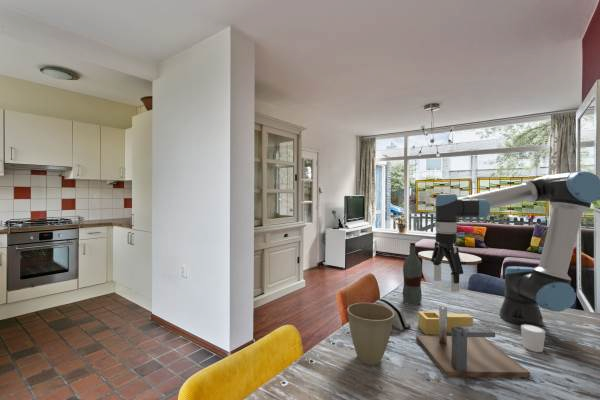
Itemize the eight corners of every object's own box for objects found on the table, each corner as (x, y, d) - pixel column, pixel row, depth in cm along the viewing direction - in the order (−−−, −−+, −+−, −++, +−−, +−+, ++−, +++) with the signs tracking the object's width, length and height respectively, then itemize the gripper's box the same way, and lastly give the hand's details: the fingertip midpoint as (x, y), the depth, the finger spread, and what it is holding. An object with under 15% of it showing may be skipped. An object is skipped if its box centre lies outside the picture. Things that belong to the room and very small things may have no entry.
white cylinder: (539, 354, 98) (539, 334, 98) (516, 345, 104) (516, 326, 104) (549, 350, 101) (549, 330, 101) (526, 341, 107) (526, 322, 107)
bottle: (399, 298, 151) (399, 241, 150) (415, 298, 152) (416, 241, 151) (407, 305, 141) (408, 244, 141) (425, 305, 142) (426, 244, 142)
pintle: (444, 345, 104) (445, 306, 104) (448, 348, 101) (448, 309, 101) (437, 345, 104) (438, 306, 104) (441, 348, 101) (441, 309, 101)
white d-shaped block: (411, 328, 117) (404, 306, 116) (402, 333, 115) (395, 311, 114) (387, 312, 133) (381, 293, 132) (378, 317, 131) (372, 297, 130)
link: (465, 326, 119) (465, 311, 119) (476, 334, 112) (476, 319, 112) (418, 325, 119) (418, 311, 119) (425, 334, 112) (426, 319, 112)
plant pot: (386, 378, 84) (386, 324, 84) (339, 362, 92) (340, 313, 92) (398, 355, 97) (398, 308, 97) (356, 342, 105) (356, 299, 105)
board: (483, 340, 108) (483, 336, 108) (529, 377, 86) (529, 372, 86) (416, 339, 108) (416, 335, 108) (445, 376, 86) (445, 371, 86)
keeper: (485, 369, 89) (486, 326, 89) (494, 377, 85) (495, 332, 85) (450, 369, 89) (451, 326, 89) (457, 377, 85) (458, 332, 85)
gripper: (423, 229, 127) (422, 276, 127) (453, 236, 102) (453, 296, 102) (439, 229, 127) (439, 276, 127) (474, 236, 102) (474, 296, 102)
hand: (445, 285), depth 115 cm, fingers open, 13 cm apart
